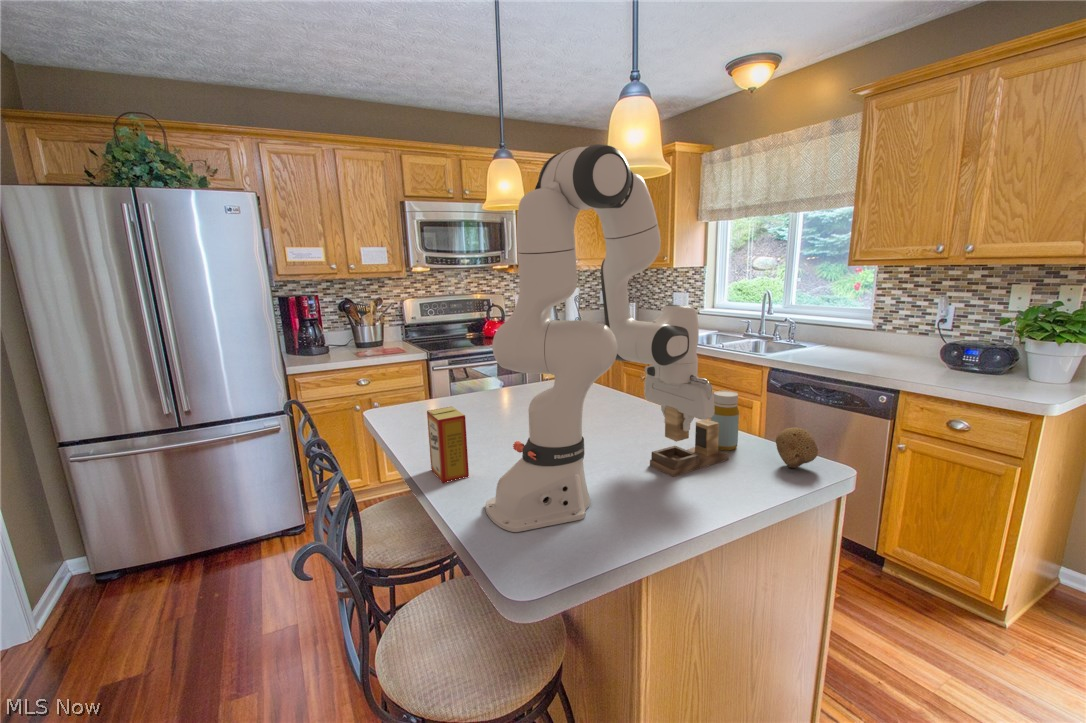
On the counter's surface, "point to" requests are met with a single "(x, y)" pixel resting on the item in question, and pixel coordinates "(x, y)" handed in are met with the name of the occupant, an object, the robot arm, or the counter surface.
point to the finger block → (674, 424)
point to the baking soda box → (448, 443)
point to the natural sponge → (796, 447)
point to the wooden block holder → (691, 452)
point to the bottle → (726, 419)
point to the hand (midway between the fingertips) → (676, 427)
